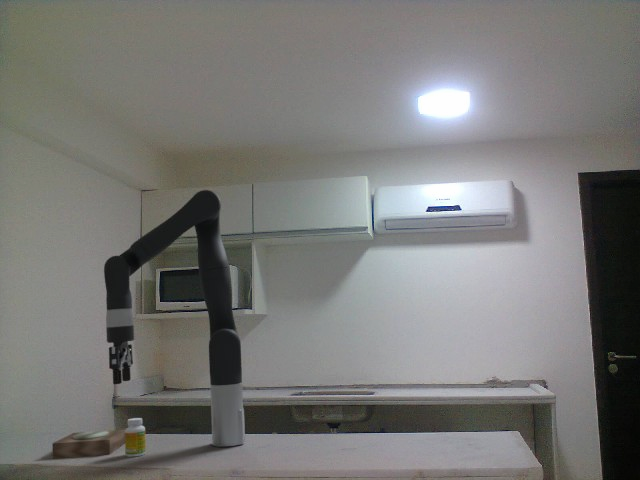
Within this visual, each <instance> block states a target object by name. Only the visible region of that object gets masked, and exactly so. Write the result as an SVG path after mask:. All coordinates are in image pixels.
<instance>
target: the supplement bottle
mask: <svg viewBox="0 0 640 480" xmlns="http://www.w3.org/2000/svg"><path fill="white" fill-rule="evenodd" d="M127 426H128V427H126V428H125V429H124V430H125V444H124V445H125V447H124V448H125V457H128V458H130V457H131V458H135V457H140V456H143V455H145V454H146V427H145V426H144V425H143V418H142V417H133V418H129V419H127Z"/></svg>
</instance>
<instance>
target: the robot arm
mask: <svg viewBox="0 0 640 480" xmlns="http://www.w3.org/2000/svg"><path fill="white" fill-rule="evenodd" d="M220 198H221V197H219V195H218V194H217V193H216V192H214V191H212V190H209V189H204V190H199V191H197V192H196V193H195V194H194V195H192V197H191V198H190V199H189V200H188V201H187V202H186V203H185V204H184V205H183V206H182V207H181V208H180V209H179V210H178V211H176V212H175V213H174V214H172V215H171V216H170V217H169V218H168V219H166V220H165V221H163V222H162V223H160V224H159V225H157V226H156V227H154V228H152V229H151V230H150V231H148V232H147V233H146V234H144V235H142V236H141V237H139V238H138V239H137V240H136V241H134V242H133V243H132V244H131V245H130V247H129V248H128V249H126V250H125V251H124V252H121V254H120V255H113V256H110V257H109V258H108V259H106V261H105V262H104V267H103V276H104V283H105V290H106V299H105V300H106V316H105V324H106V325H105V326H106V327H105V328H106V329H105V330H106V342H107V343H108V344H111V343H112V344H113V345H112V346H109V347H108V359H109V360H108V362H109V363H108V365H109V366H108V368H109V370H111V371H112V383H113V385H120V384H122V382H129V381H131V367H132V365H133V364H134V362H133V361H134V360H133V345H132V344H131V343H130V344H129V343H128V342H133V341H134V340H135V329H134V328H135V327H134V314H133V313H134V312H133V302H132V300H133V298H132V292H131V288H130V277H131V276H132V275H133V274H135V273H136V272H137V271H138V270H139V269H140V268H141V267H143V266H144V265H145V264H146V263H148V262H150V261H151V260H153V259H154V258H156V257H157V256H158V255H160V254H161V253H163V252H164V251H165V250H166V249H168V248H169V247H170V246H171V245H172V244H173V243H174V242H175V241H177V240H178V239H179V238H180V237H181V236H182V235H183V234H184V233H186V232H188V231H189V230H190V229H191V228H193V227H194V229H195V234H196V239H197V265H198V274H199V282H200V286H201V292H202V296H203V299H204V304H205V306H206V309H207V313H208V321H209V341H208V362H209V363H208V364H209V379H210V412H211V441H212V446H214V447H233V446H234V447H235V446H238V445H244V443H245V442H246V432H245V431H246V430H245V429H246V428H245V427H246V426H245V409H244V405H243V404H244V402H243V401H244V399H243V375H242V374H243V372H242V371H243V368H242V346H241V339H240V337H239V334H238V331H237V327H236V322H235V317H234V313H233V311H234V310H233V286H232V275H231V270H230V269H231V268H230V263H229V259H228V256H227V252H226V249H225V246H224V243H223V240H222V235H221V222H220V220H221V219H220V218H221V216H220V214H221V208H222V203H221V199H220Z"/></svg>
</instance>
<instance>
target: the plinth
mask: <svg viewBox="0 0 640 480" xmlns="http://www.w3.org/2000/svg"><path fill="white" fill-rule="evenodd" d="M125 430H126V429H115V430H97V431H96V430H95V431H81V432H72V433H71V434H68V435H67V436H65V437H63V438H61V439H58V440H57V441H54V442H53V443H52V449H51V450H52V459H55V458H56V459H57V457H61V458H75V457H89V456H91V457H92V456H105V455H106V456H107V455H111V454H112V453H113V452H115V451H116V450H118V449H120V448H121V447H122V446H124V445H125ZM123 444H124V445H123Z"/></svg>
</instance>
